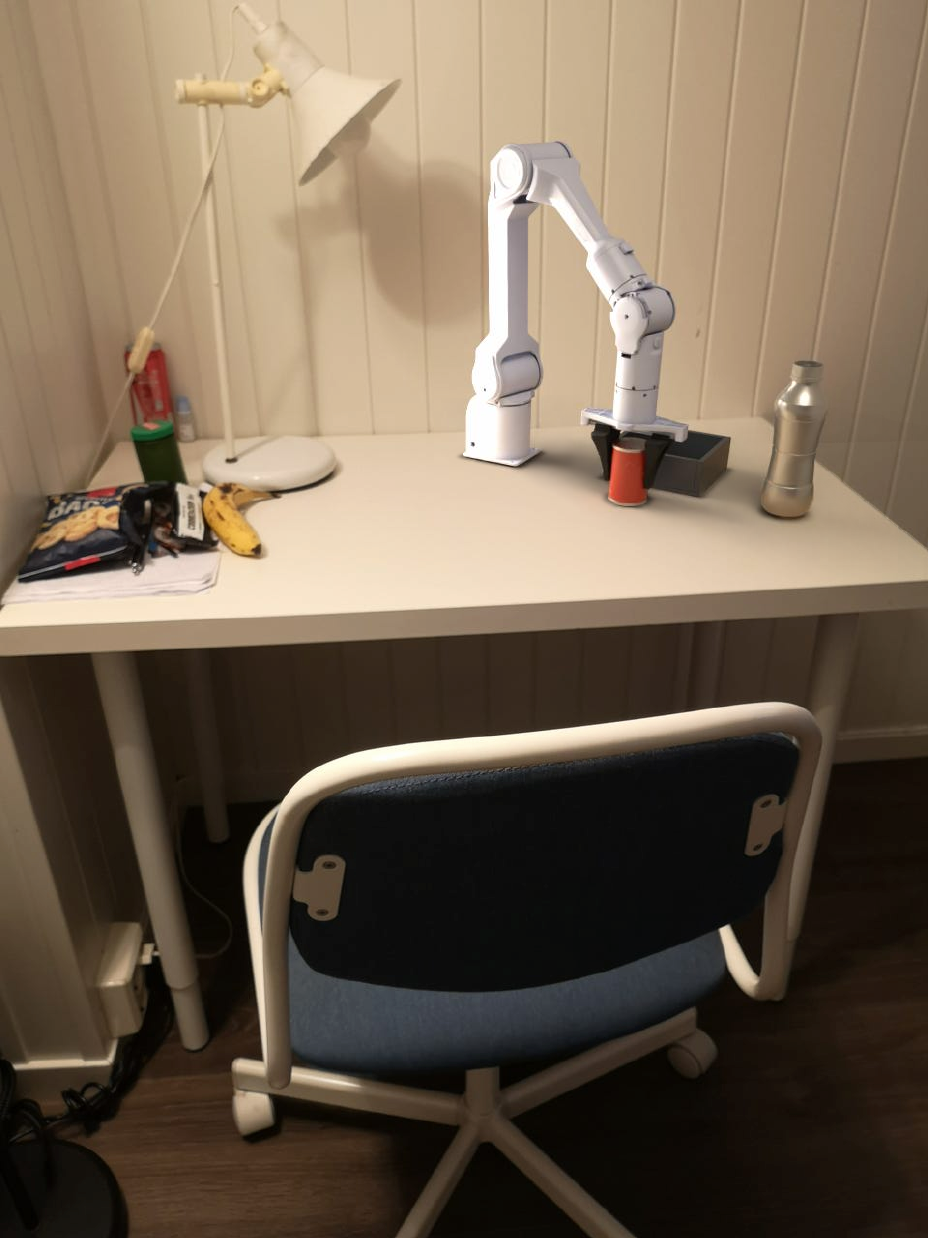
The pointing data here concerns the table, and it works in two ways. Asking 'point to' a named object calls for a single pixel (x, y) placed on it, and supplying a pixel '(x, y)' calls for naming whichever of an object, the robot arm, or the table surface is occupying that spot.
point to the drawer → (690, 462)
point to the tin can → (627, 472)
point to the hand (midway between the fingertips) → (628, 482)
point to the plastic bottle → (795, 442)
